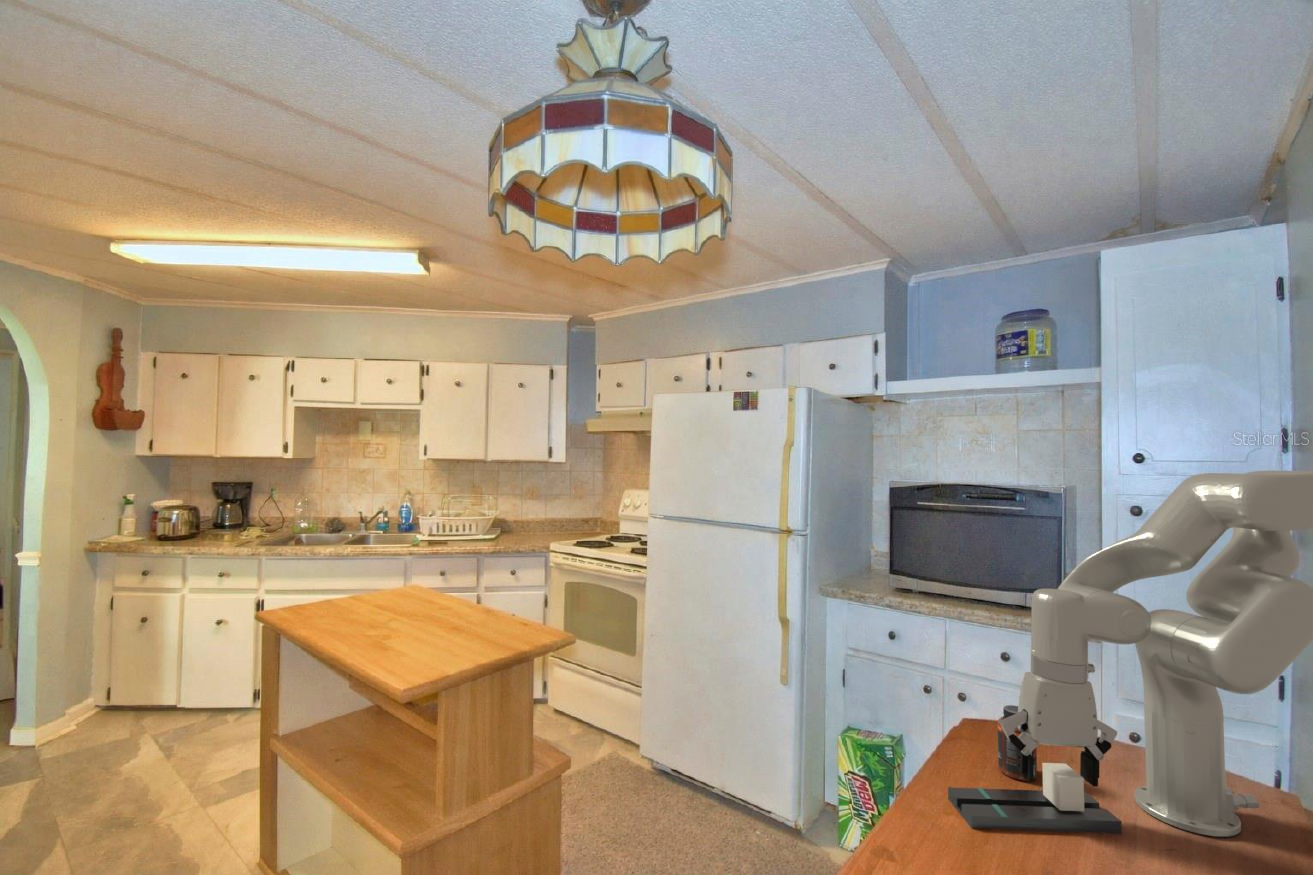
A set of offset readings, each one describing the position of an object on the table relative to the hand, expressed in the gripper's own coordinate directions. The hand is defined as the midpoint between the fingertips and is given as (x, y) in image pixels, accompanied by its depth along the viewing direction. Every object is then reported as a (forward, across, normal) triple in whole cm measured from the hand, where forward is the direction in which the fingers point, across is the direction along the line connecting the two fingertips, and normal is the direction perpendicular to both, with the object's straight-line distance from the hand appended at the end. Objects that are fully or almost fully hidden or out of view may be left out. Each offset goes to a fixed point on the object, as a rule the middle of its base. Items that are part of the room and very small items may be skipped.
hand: (1057, 779), depth 94 cm
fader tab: (+5, -1, 0) cm, 5 cm away
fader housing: (+6, +4, 0) cm, 7 cm away
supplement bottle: (+6, -1, -13) cm, 14 cm away
